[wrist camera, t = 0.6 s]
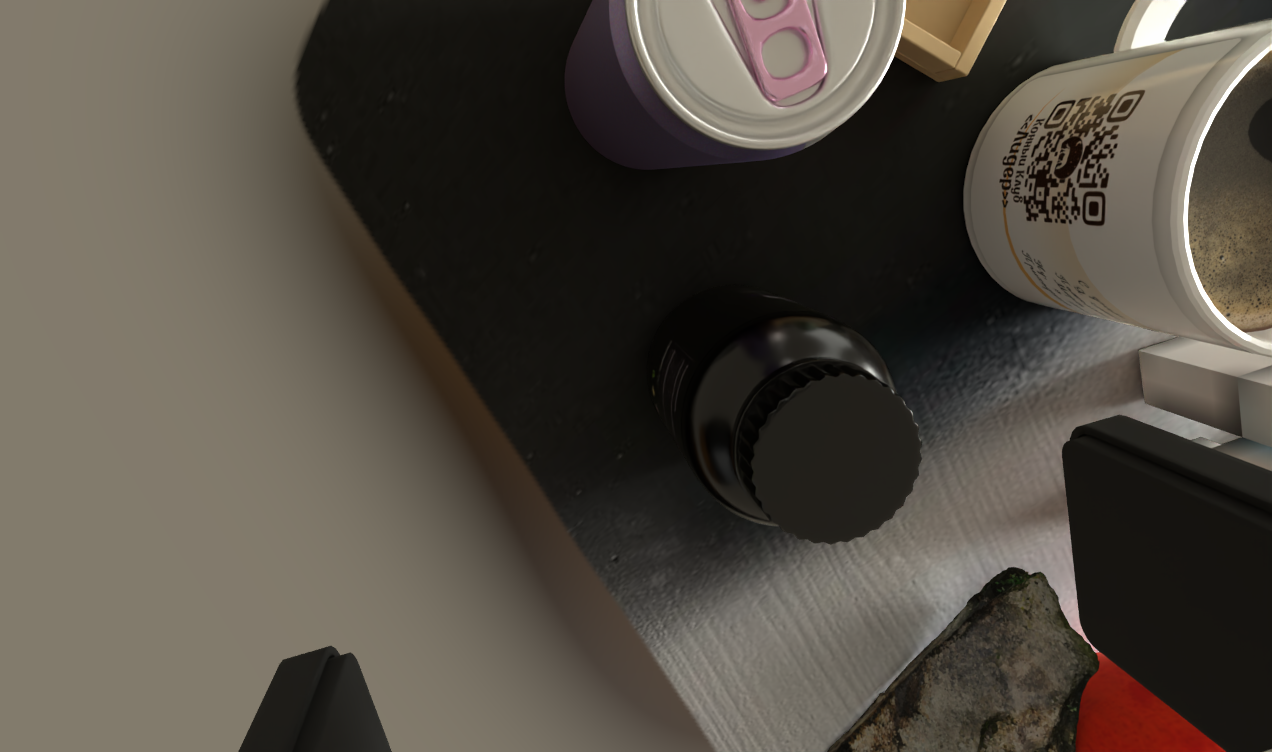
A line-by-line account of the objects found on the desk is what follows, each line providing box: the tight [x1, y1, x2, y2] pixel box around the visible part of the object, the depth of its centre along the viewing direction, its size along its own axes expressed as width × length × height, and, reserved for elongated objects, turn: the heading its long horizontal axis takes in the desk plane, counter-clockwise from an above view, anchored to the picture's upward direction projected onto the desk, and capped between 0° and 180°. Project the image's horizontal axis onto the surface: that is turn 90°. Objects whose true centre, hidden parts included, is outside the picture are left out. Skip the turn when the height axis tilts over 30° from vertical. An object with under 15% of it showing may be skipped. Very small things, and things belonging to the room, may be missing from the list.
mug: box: [963, 0, 1272, 358], centre depth 28 cm, size 10×12×11 cm
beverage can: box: [565, 0, 906, 170], centre depth 23 cm, size 6×6×15 cm
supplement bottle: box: [647, 284, 922, 544], centre depth 27 cm, size 7×7×12 cm
